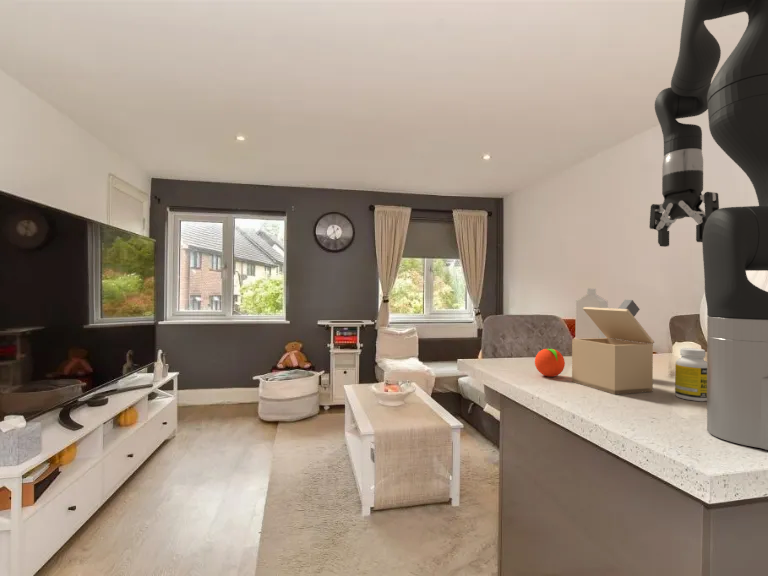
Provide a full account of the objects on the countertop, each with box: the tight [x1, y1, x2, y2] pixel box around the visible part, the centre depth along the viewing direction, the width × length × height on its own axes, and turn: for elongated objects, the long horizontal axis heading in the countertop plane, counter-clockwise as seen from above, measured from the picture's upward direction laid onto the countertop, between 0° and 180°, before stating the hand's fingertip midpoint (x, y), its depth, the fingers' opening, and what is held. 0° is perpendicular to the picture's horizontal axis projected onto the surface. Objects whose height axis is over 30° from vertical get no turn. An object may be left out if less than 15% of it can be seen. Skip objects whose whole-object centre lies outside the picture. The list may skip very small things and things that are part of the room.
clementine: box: [534, 347, 566, 378], centre depth 99 cm, size 8×7×7 cm
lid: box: [583, 299, 655, 345], centre depth 91 cm, size 12×10×7 cm
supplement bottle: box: [674, 347, 707, 402], centre depth 80 cm, size 5×5×10 cm
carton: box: [571, 338, 654, 395], centre depth 89 cm, size 12×10×10 cm
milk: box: [574, 288, 609, 339], centre depth 106 cm, size 6×6×22 cm
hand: (681, 244), depth 91 cm, fingers open, 8 cm apart
